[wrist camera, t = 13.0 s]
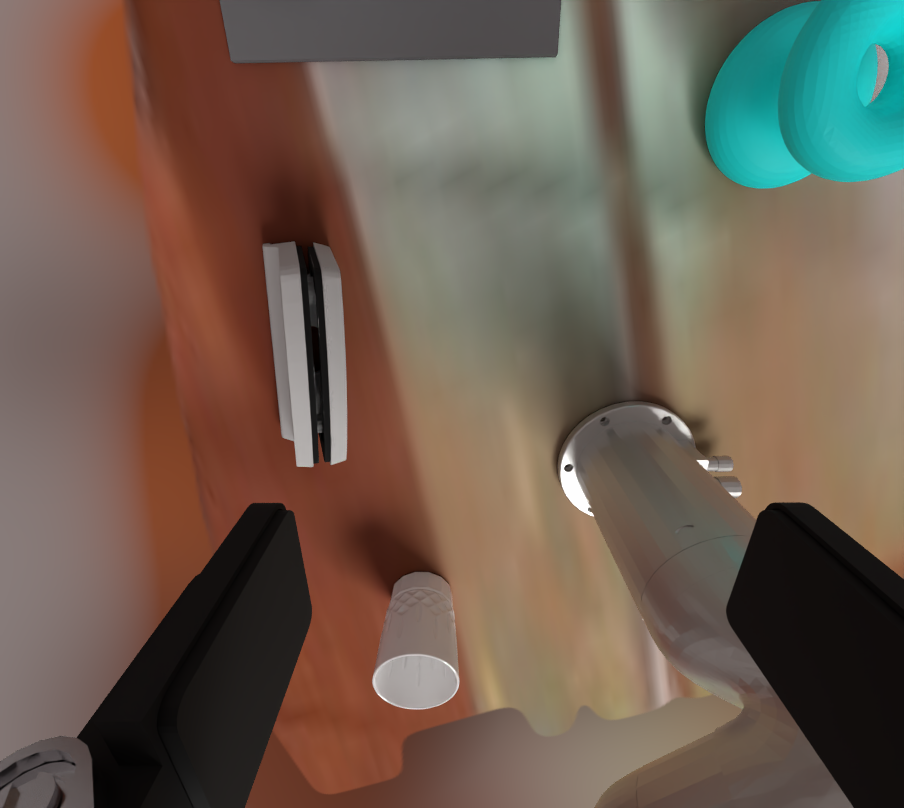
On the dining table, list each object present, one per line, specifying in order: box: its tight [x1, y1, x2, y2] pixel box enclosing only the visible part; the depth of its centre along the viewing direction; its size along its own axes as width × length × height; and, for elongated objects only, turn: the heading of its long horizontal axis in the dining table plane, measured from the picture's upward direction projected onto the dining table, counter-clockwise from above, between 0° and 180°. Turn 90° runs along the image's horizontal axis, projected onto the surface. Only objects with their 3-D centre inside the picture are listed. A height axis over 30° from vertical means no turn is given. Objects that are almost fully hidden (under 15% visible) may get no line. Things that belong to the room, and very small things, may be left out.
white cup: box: [372, 572, 459, 709], centre depth 43 cm, size 8×8×10 cm
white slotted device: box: [263, 241, 347, 467], centre depth 32 cm, size 17×5×10 cm, turn 176°
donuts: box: [705, 0, 904, 188], centre depth 24 cm, size 10×10×10 cm
